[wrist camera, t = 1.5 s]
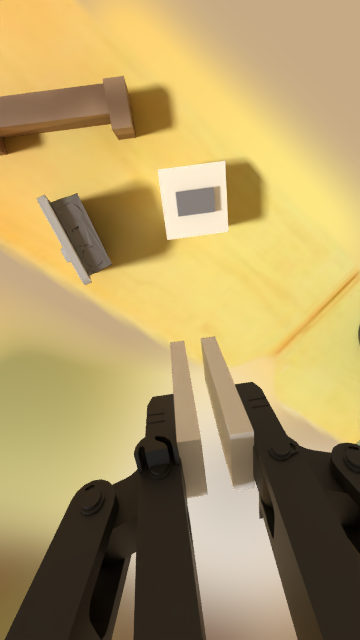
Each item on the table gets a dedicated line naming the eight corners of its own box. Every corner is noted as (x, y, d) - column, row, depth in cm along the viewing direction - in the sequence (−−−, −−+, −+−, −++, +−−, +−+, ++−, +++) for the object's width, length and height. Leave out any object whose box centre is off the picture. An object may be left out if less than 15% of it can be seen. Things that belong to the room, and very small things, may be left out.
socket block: (217, 227, 35) (230, 232, 29) (166, 234, 35) (167, 240, 29) (214, 168, 33) (226, 159, 26) (158, 175, 32) (157, 168, 26)
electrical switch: (48, 207, 33) (17, 203, 24) (86, 191, 33) (69, 182, 24) (85, 275, 37) (70, 293, 28) (119, 261, 37) (114, 274, 28)
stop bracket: (135, 137, 31) (131, 126, 27) (-10, 156, 30) (-37, 148, 26) (128, 94, 29) (123, 76, 25) (-25, 114, 29) (-56, 99, 25)
